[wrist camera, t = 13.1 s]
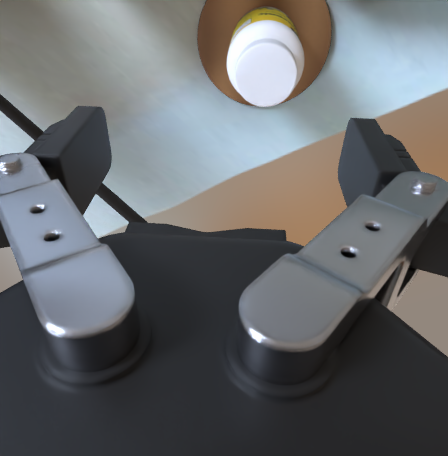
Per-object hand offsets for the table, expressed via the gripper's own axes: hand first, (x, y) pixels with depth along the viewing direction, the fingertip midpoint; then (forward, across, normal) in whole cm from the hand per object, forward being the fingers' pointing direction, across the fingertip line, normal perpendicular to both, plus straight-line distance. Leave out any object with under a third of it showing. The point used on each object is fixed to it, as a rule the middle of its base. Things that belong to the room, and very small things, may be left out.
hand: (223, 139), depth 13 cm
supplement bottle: (+24, -2, +2) cm, 24 cm away
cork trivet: (+24, -2, +2) cm, 24 cm away
